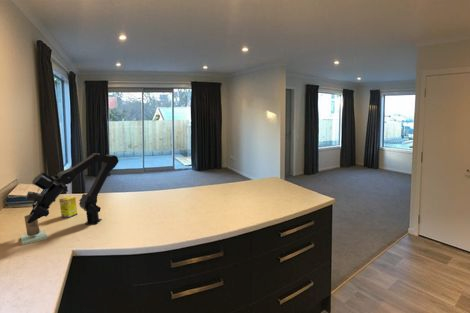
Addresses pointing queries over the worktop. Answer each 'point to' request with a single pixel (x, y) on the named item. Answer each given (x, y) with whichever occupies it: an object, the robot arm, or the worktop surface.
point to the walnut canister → (31, 226)
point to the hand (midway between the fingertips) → (28, 221)
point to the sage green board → (33, 238)
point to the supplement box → (68, 206)
